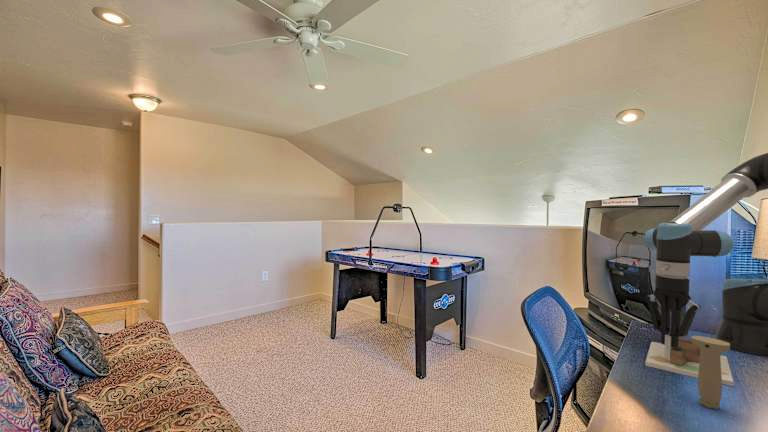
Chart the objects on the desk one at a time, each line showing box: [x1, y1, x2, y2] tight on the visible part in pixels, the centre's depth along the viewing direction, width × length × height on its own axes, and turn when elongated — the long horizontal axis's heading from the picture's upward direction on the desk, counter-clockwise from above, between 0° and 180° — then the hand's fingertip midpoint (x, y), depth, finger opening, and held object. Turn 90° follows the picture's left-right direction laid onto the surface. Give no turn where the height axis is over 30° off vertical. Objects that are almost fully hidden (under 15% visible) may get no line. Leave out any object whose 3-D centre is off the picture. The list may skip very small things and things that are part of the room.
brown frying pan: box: [670, 336, 700, 366], centre depth 101 cm, size 13×7×5 cm, turn 124°
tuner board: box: [644, 341, 734, 387], centre depth 102 cm, size 18×22×1 cm
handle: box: [691, 335, 731, 410], centre depth 79 cm, size 5×6×15 cm
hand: (669, 357), depth 100 cm, fingers closed
